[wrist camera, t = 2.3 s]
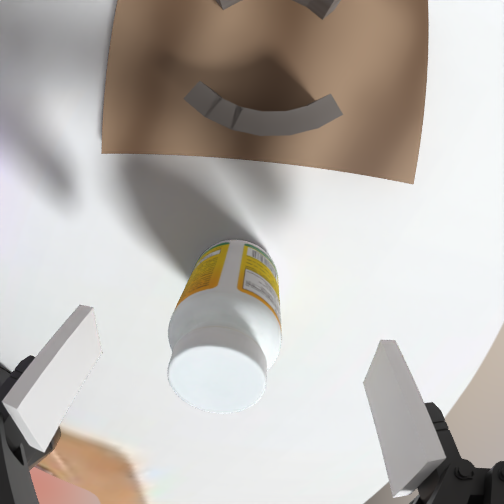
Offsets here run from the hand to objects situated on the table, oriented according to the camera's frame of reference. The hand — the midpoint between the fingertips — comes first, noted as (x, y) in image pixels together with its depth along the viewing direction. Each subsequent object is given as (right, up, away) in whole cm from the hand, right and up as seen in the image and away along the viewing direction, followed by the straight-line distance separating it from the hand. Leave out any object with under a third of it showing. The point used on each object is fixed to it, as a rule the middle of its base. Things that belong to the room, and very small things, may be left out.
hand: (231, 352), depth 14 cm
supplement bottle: (0, +3, +7) cm, 8 cm away
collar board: (+2, +15, +2) cm, 16 cm away
